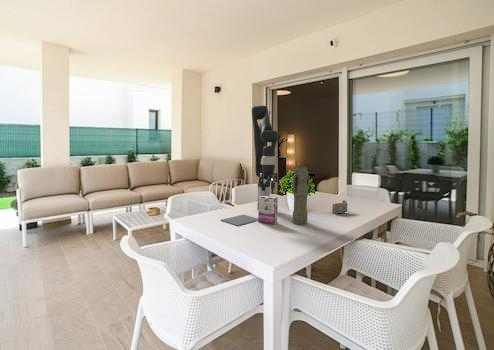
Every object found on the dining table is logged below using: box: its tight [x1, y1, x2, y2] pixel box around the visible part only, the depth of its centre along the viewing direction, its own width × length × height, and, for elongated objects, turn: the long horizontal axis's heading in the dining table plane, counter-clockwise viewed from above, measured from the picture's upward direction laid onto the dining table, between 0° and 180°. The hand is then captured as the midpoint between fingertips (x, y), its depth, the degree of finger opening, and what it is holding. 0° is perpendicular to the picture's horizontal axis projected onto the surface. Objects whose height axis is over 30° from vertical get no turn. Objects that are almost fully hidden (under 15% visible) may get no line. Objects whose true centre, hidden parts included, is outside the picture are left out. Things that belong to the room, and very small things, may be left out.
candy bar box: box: [257, 195, 279, 226], centre depth 180 cm, size 11×5×16 cm, turn 62°
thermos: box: [292, 166, 310, 226], centre depth 178 cm, size 9×12×35 cm
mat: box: [220, 214, 258, 227], centre depth 185 cm, size 20×16×1 cm
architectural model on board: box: [331, 199, 348, 215], centre depth 205 cm, size 11×3×10 cm, turn 116°
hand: (268, 190), depth 178 cm, fingers open, 8 cm apart
